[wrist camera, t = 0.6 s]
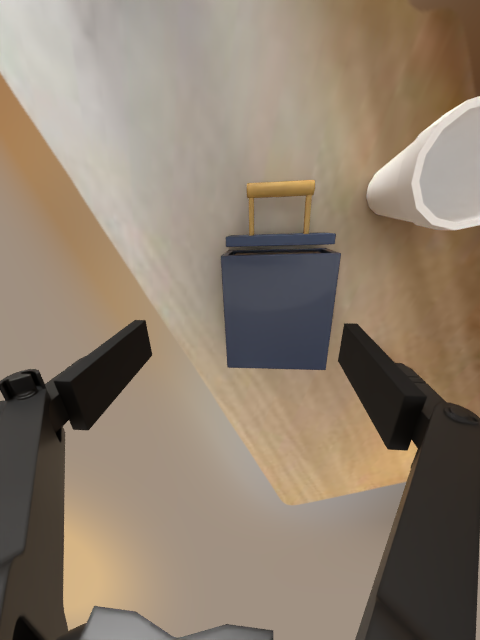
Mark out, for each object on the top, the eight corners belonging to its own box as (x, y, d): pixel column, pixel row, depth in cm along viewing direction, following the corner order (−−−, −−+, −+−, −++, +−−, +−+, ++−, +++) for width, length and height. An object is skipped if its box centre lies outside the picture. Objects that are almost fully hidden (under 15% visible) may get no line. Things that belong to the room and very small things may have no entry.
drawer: (228, 188, 31) (222, 181, 26) (329, 183, 30) (343, 175, 25) (235, 331, 39) (231, 345, 34) (314, 331, 38) (322, 347, 33)
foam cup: (396, 240, 33) (474, 248, 21) (340, 209, 32) (387, 200, 20) (447, 168, 29) (577, 128, 17) (386, 132, 28) (477, 63, 16)
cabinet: (228, 250, 35) (220, 255, 29) (325, 248, 34) (341, 253, 27) (232, 345, 41) (227, 367, 35) (315, 346, 40) (325, 370, 34)
